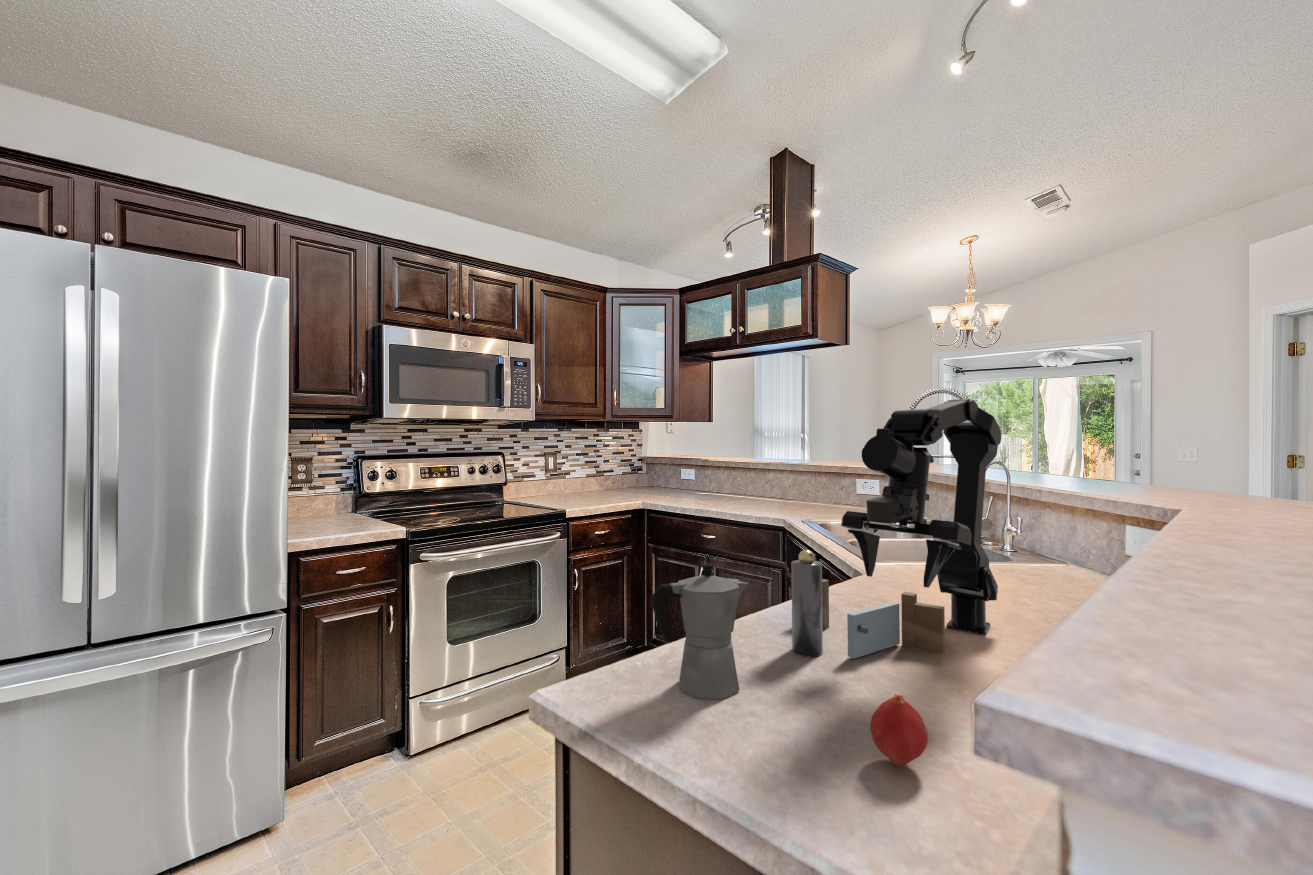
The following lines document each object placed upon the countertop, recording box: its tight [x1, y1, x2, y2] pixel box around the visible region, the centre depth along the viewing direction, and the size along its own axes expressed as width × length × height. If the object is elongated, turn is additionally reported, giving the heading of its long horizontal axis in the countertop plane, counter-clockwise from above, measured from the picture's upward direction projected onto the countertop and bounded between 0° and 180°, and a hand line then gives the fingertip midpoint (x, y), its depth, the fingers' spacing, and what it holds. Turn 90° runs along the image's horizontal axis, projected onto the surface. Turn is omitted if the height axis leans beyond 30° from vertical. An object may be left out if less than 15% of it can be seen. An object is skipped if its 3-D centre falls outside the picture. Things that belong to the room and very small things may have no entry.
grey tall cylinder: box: [790, 549, 824, 658], centre depth 96 cm, size 5×5×17 cm
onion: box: [869, 692, 929, 768], centre depth 62 cm, size 6×6×8 cm
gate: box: [847, 601, 901, 660], centre depth 94 cm, size 12×3×7 cm, turn 122°
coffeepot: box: [650, 562, 750, 701], centre depth 82 cm, size 15×9×18 cm, turn 110°
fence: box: [822, 578, 946, 655], centre depth 102 cm, size 2×25×9 cm, turn 52°
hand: (896, 581), depth 89 cm, fingers open, 9 cm apart
